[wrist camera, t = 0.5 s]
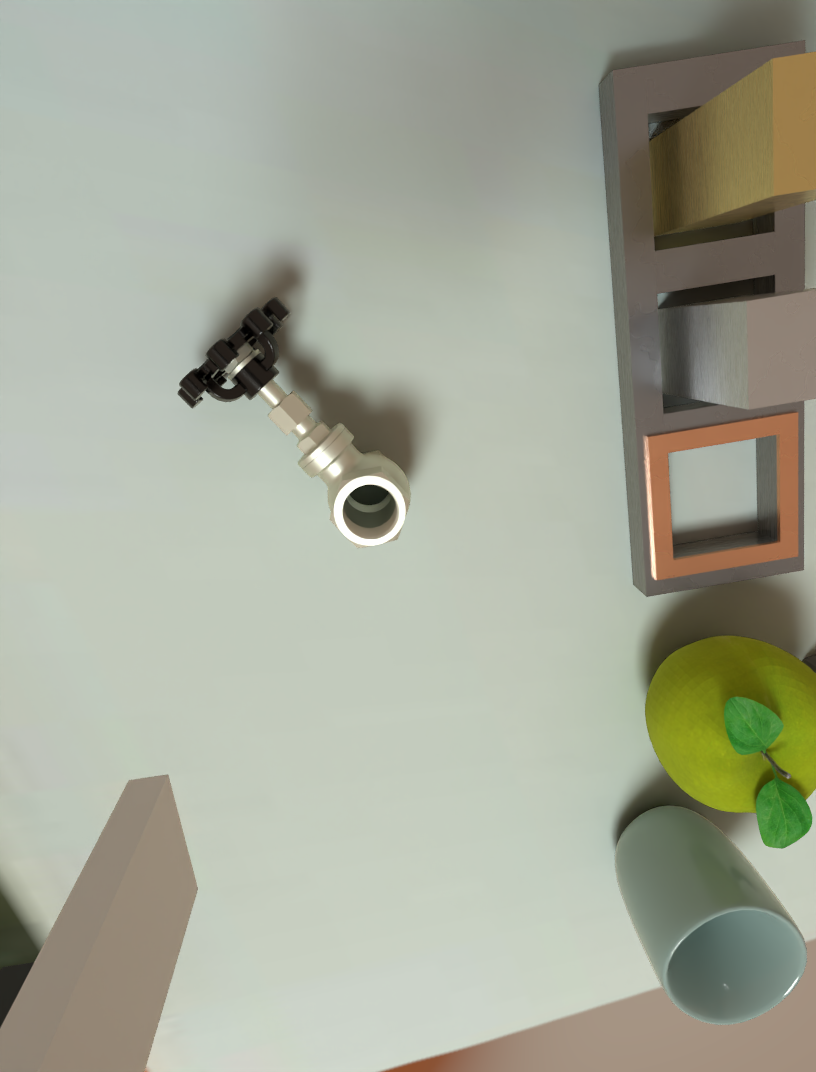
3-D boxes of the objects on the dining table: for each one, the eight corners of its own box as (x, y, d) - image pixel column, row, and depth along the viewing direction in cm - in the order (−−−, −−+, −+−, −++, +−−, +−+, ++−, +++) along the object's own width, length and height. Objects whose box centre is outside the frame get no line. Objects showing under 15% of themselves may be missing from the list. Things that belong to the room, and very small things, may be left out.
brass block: (648, 142, 35) (772, 58, 24) (734, 128, 35) (896, 39, 25) (653, 236, 36) (773, 195, 26) (737, 223, 36) (891, 177, 26)
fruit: (641, 765, 45) (717, 882, 35) (607, 637, 42) (680, 726, 33) (780, 721, 45) (895, 827, 35) (755, 590, 42) (871, 665, 32)
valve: (438, 469, 39) (283, 299, 36) (453, 495, 33) (266, 291, 30) (351, 548, 40) (193, 388, 37) (349, 588, 34) (158, 399, 31)
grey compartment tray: (598, 85, 34) (615, 67, 32) (780, 56, 34) (809, 37, 32) (633, 584, 41) (648, 598, 39) (783, 559, 42) (807, 571, 39)
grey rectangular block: (657, 309, 37) (746, 301, 29) (738, 296, 37) (852, 283, 29) (661, 393, 38) (748, 409, 30) (740, 380, 39) (850, 392, 30)
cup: (739, 831, 47) (837, 959, 37) (653, 906, 48) (726, 1048, 38) (663, 764, 45) (745, 881, 35) (575, 844, 46) (632, 977, 37)
